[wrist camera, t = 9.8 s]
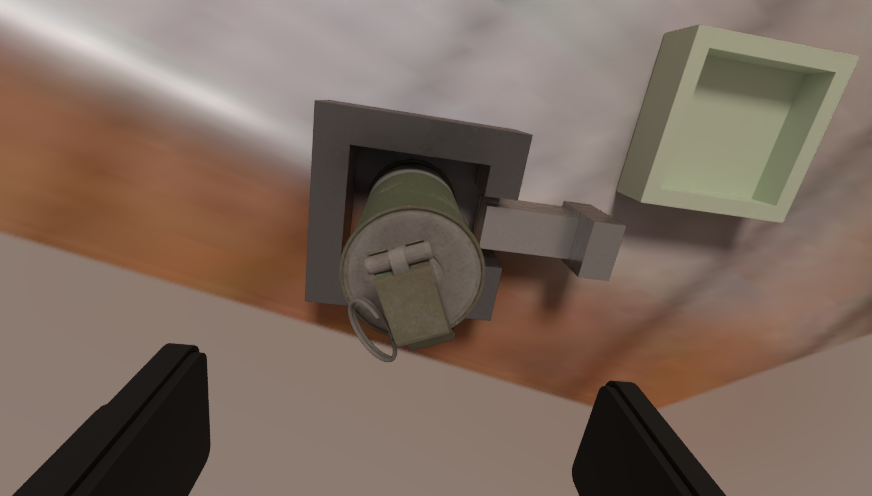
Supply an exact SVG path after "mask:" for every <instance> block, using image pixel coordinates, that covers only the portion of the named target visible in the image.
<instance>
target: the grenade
mask: <svg viewBox="0 0 872 496" xmlns="http://www.w3.org/2000/svg"><path fill="white" fill-rule="evenodd" d="M339 280H340V286H341V290H342V293H343V296H344V298H345V300H346V302H347V304H348V316H349V319H350V322H351V325H352V327H353V329H354V331H355V333H356V335H357V336H358V338H359V339H360V341H361V342H362V344H363V345H364V346H365V347H366V348H367V349H368V351H369V352H370V353H372V355H374V356H375V357H376V358H378V359H380V360H382V361H384V362H392V361H393V360H395V358H396V356H397V347H402V346H406V345H407V346H408V347H409V349H410V350H411V351H413V350H417V349H421V348H424V347H428V346H432V345H436V344H440V343H443V342H447V341H451V340H455V334H454V328H453V327H454V326H456V325H457V324H459V323H460V322H461V321H462V320H463V319H465V318H466V317H467V316H468V314H469V313H470V312H471V311H472V310H473V308H474V307H475V305H476V304H477V302H478V300H479V298H480V296H481V293H482V290H483V286H484V281H485V262H484V256H483V253H482V250H481V247H480V245H479V243H478V241H477V239H476V237H475V236H474V235H473V233H472V232H471V231H470V230H469V228H468V227H467V225H466V223H465V221H464V219H463V216H462V214H461V212H460V209H459V207H458V205H457V203H456V200H455V196H454V191H453V188H452V186H451V184H450V182H449V180H448V179H447V177H446V176H445V175H444V173H442V172H441V171H440V170H439V169H438V168H436V167H435V166H433V165H431V164H430V163H427V162H424V161H420V160H413V159H410V160H402V161H398V162H395V163H393V164H391V165H389V166H387V167H386V168H384V169H383V170H382V171H381V172H380V173H379V174H378V175H377V176H376V177H375V179H374V180H373V182H372V184H371V186H370V189H369V193H368V200H367V203H366V205H365V207H364V210H363V212H362V215H361V217H360V220H359V222H358V225H357V227H356V229H355V230H354V232H353V233H352V234H351V236H350V237H349V239H348V240H347V242H346V244H345V246H344V249H343V251H342V254H341V259H340V264H339ZM357 317H358V318H359V319H360V320H361V321H362V322H363V323H365V324H366V325H367V326H369V327H370V328H372V329H374V330H376V331H378V332H380V333H382V334H385V335H388V336H390V338H391V339H390V341H391V342H392V347H393V355H392V356H389V355H387V354H385V353H383V352H381V351H380V350H379V349H378V348H377V347H375V346H374V345H373V343H372V342H371V341H370V340H369V339H368V337H367V336H366V334H365V333H364V331H363V330H362V328H361V326H360V324H359V322H358V319H357ZM356 326H357V327H356ZM357 328H358V329H357ZM361 335H362V336H361ZM366 342H367V343H366Z"/></svg>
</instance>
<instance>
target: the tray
mask: <svg viewBox="0 0 872 496" xmlns="http://www.w3.org/2000/svg"><path fill="white" fill-rule="evenodd" d="M859 57H860V56H855V55H850V54H845V53H840V52H835V51H830V50H825V49H820V48H815V47H810V46H805V45H800V44H795V43H790V42H785V41H780V40H775V39H770V38H765V37H760V36H755V35H750V34H745V33H740V32H735V31H730V30H725V29H720V28H715V27H710V26H705V25H700V24H699V25H695V26H691V27H687V28H683V29H679V30H675V31H671V32H667V33H665V34H664V38H663V41H662V44H661V47H660V51H659V54H658V57H657V60H656V64H655V67H654V70H653V73H652V77H651V80H650V83H649V86H648V90H647V93H646V96H645V99H644V103H643V106H642V109H641V112H640V116H639V119H638V122H637V125H636V128H635V132H634V135H633V138H632V141H631V145H630V148H629V151H628V154H627V158H626V161H625V164H624V167H623V171H622V174H621V177H620V180H619V184H618V187H617V190H616V191H617V192H619V193H621V194H623V195H625V196H628V197H630V198H632V199H634V200H636V201H639V202H642V203H648V204H655V205H662V206H669V207H676V208H683V209H690V210H697V211H704V212H711V213H718V214H725V215H732V216H739V217H746V218H753V219H759V220H766V221H773V222H780V223H783V222H784V220H785V217H786V215H787V213H788V211H789V209H790V207H791V204H792V202H793V200H794V198H795V196H796V194H797V191H798V189H799V187H800V185H801V183H802V181H803V178H804V176H805V174H806V172H807V170H808V168H809V165H810V163H811V161H812V159H813V157H814V155H815V152H816V150H817V148H818V146H819V144H820V142H821V139H822V137H823V135H824V133H825V131H826V129H827V126H828V124H829V122H830V120H831V118H832V116H833V113H834V111H835V109H836V107H837V105H838V103H839V100H840V98H841V96H842V94H843V92H844V90H845V87H846V85H847V83H848V81H849V79H850V77H851V75H852V72H853V70H854V68H855V66H856V64H857V62H858V59H859Z"/></svg>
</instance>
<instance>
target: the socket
mask: <svg viewBox="0 0 872 496" xmlns="http://www.w3.org/2000/svg"><path fill="white" fill-rule="evenodd" d="M531 140H532V135H531V134H528V133H524V132H521V131H518V130H514V129H508V128H502V127H495V126H489V125H483V124H477V123H470V122H464V121H458V120H452V119H445V118H439V117H433V116H426V115H420V114H414V113H408V112H401V111H395V110H389V109H383V108H376V107H370V106H364V105H357V104H351V103H345V102H339V101H332V100H315V105H314V126H313V146H312V166H311V186H310V207H309V227H308V247H307V267H306V287H305V301H307V302H316V303H326V304H335V305H345V306H348V304H347V302H346V300H345V298H344V296H343V293H342V290H341V286H340V280H339V264H340V259H341V254H342V251H343V249H344V246H345V244H346V242H347V240H348V239H349V237H350V229H351V217H352V206H353V194H354V183H355V171H356V160H357V148H358V146H363V147H370V148H377V149H384V150H390V151H397V152H404V153H411V154H417V155H424V156H431V157H438V158H444V159H451V160H458V161H464V162H471V163H478V167H477V173H476V178H475V184H476V185H477V186H478V188H479V189H480V190H481V192H482V193H483V194H484V196H489V197H496V198H503V199H510V200H517V201H518V197H519V193H520V188H521V184H522V179H523V175H524V170H525V166H526V162H527V157H528V153H529V148H530V144H531ZM481 250H482V253H483V256H484V262H485V281H484V286H483V290H482V293H481V296H480V298H479V300H478V302H477V304H476V305H475V307H474V308H473V310H472V311H471V312H470V313H469V314H468V316H467V317H466V318H469V319H478V320H488V321H490V320H491V316H492V312H493V307H494V303H495V298H496V294H497V290H498V285H499V281H500V276H501V272H502V267H501V265H500V263H499V261H498V259H497V258H496V256H495V254H494V252H493V250H491V249H483V248H481Z"/></svg>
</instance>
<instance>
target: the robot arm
mask: <svg viewBox="0 0 872 496" xmlns="http://www.w3.org/2000/svg"><path fill="white" fill-rule="evenodd" d="M208 401H209V400H208V377H207V357H206V354H205V353H199V349H198V347H197V346H195V345H184V344H172V343H169V344H166V345H165V346H163V347H162V348H161V349H160V350H159V351H158V353H156V355H155V356H154V357H153V358H152V359H151V360H150V361H149V362H148V363H147V364H146V365H145V366H144V367H143V368H142V369H141V370H140V371H139V372H138V373H137V374H136V375H135V376H134V377H133V378H132V379H131V380H130V381H129V382H128V383H127V384H126V385H125V386H124V387H123V389H122V390H121V391H120V392H119V393H118V394H117V395H116V396H115V397H114V398H113V399H112V400H111V401H110V402H109V403H108V404H106V405H103V406H101V407H100V408H99V409H98V410H97V411H95V413H93V415H91V416H90V418H88V419H87V420H86V421H85V422H84V423H83V424H82V425H81V426H80V427H79V428H78V429H77V431H76V432H75V433H74V434H73V435H72V436H71V437H70V438H69V439H68V440H67V441H66V442H65V443H64V444H63V445H62V446H61V447H60V448H59V449H58V450H57V451H56V452H55V453H54V454H53V455H52V456H51V457H50V458H49V459H48V460H47V461H46V462H45V463H44V464H43V465H42V466H41V467H40V468H39V469H38V470H37V471H36V472H35V473H34V474H33V475H32V476H31V477H30V478H29V479H28V480H27V481H26V482H25V483H24V484H23V485H22V486H21V487H20V488H19V489H18V490H17V491H16V492H15V493H14V494H13V495H12V496H188V495H189V493H190V491H191V490H192V488H193V486H194V484H195V482H196V480H197V479H198V477H199V475H200V473H201V471H202V469H203V468H204V465H205V464H206V462H207V459H208V456H209V452H210V424H209V402H208ZM572 477H573V482H574V484H575V487H576V489H577V491H578V493H579V496H726V495H725V494H724V492H723V491H722V490H721V489H720V488H719V486H718V485H717V484H716V483H715V481H714V480H713V479H712V478H711V476H710V475H709V474H708V473H707V471H706V470H705V469H704V468H703V466H702V465H701V464H700V463H699V462H698V460H697V459H696V458H695V457H694V455H693V454H692V453H691V452H690V450H689V449H688V448H687V447H686V446H685V444H684V443H683V442H682V440H681V439H680V438H679V437H678V436H677V434H676V433H675V432H674V431H673V430H672V428H671V427H670V426H669V424H668V423H667V422H666V421H665V419H664V418H663V417H662V416H661V415H660V413H659V412H658V411H657V409H656V408H655V407H654V406H653V405H652V403H651V402H650V401H649V400H648V398H647V397H646V396H645V395H644V393H643V392H642V391H641V390H640V388H639V387H638V386H637V385H636V384H635V383H632V382H621V381H609V382H608V383H607V384H606V385H605V386H602V387H601V388H600V390H599V392H598V395H597V398H596V400H595V403H594V406H593V409H592V412H591V415H590V418H589V420H588V424H587V426H586V429H585V432H584V435H583V438H582V441H581V444H580V446H579V449H578V452H577V455H576V458H575V460H574V463H573V467H572Z"/></svg>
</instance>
